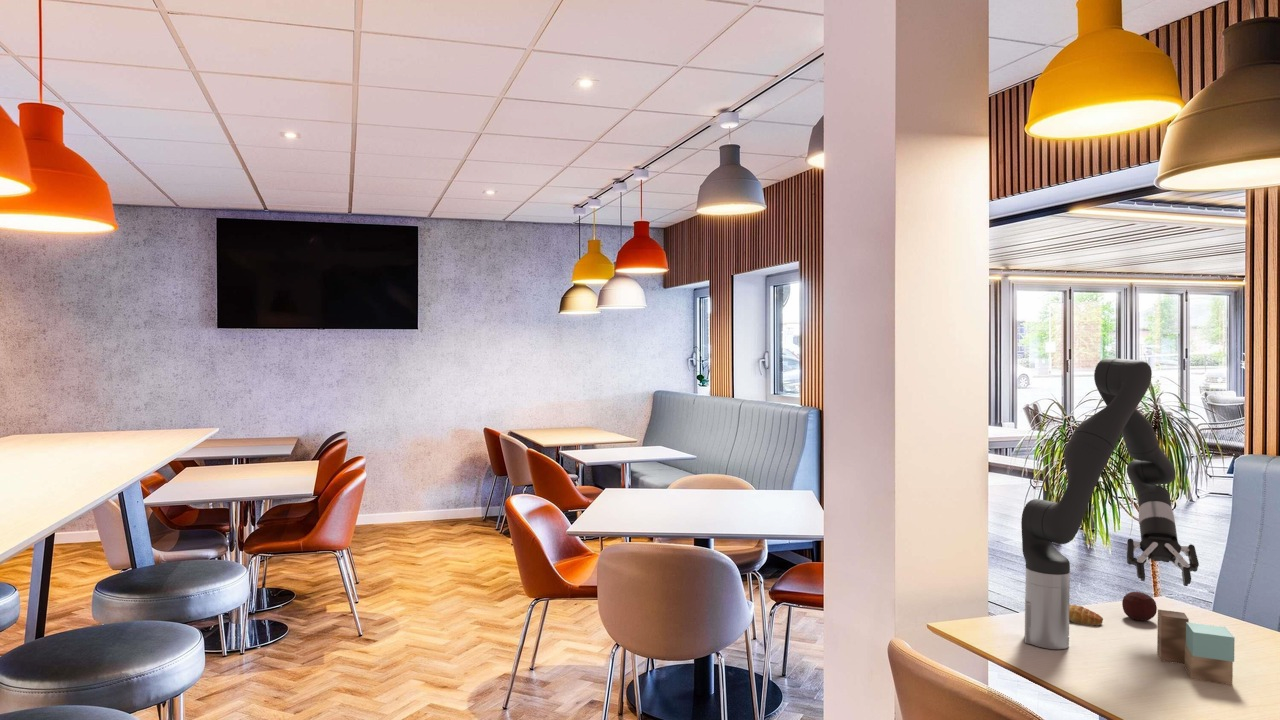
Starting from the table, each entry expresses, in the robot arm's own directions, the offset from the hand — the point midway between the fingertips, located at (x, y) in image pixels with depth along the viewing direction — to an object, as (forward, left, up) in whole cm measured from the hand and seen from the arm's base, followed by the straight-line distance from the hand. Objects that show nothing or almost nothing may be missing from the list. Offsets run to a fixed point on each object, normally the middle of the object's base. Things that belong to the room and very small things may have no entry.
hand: (1164, 581), depth 185 cm
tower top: (+5, -19, -9) cm, 22 cm away
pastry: (-17, +9, -15) cm, 24 cm away
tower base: (+5, -19, -15) cm, 25 cm away
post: (0, -11, -14) cm, 18 cm away
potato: (-3, +17, -15) cm, 22 cm away
